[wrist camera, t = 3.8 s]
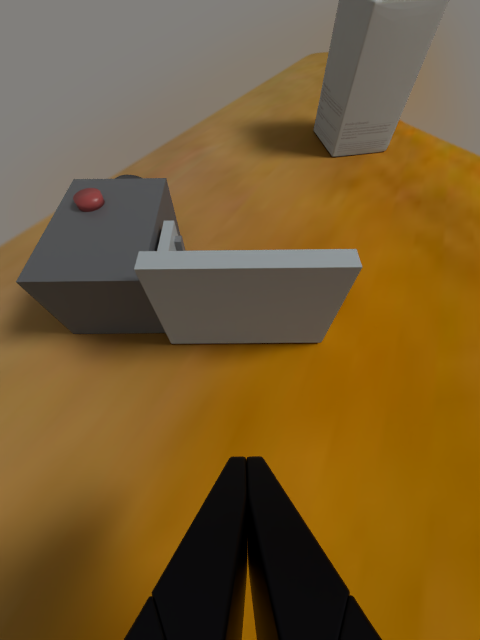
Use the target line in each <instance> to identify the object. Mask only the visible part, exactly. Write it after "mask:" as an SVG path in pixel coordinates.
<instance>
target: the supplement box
mask: <svg viewBox="0 0 480 640" xmlns="http://www.w3.org/2000/svg"><path fill="white" fill-rule="evenodd" d="M448 2H449V0H339V3H338V8H337V13H336V18H335V23H334V28H333V34H332V39H331V44H330V49H329V54H328V59H327V65H326V70H325V75H324V80H323V85H322V90H321V95H320V100H319V106H318V110H317V115H316V120H315V125H314V132H315V133H316V135H317V136H318V137H319V139H320V140H321V142H322V143H323V144H324V146H325V147H326V149H327V150H328V151H329V153H330V154H331V156H346V155H356V154H365V153H374V152H383V151H385V150H386V149H387V147H388V145H389V143H390V140H391V138H392V135H393V133H394V131H395V128H396V126H397V124H398V121H399V119H400V116H401V114H402V112H403V109H404V107H405V104H406V102H407V100H408V97H409V95H410V92H411V90H412V88H413V85H414V83H415V81H416V78H417V76H418V73H419V71H420V69H421V66H422V64H423V61H424V59H425V57H426V54H427V51H428V49H429V47H430V45H431V42H432V40H433V38H434V35H435V33H436V30H437V28H438V25H439V23H440V21H441V18H442V16H443V14H444V11H445V9H446V7H447V4H448Z"/></svg>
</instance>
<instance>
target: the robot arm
mask: <svg viewBox="0 0 480 640" xmlns="http://www.w3.org/2000/svg"><path fill="white" fill-rule="evenodd" d="M247 541H248V565H249V576H250V584H251V593H252V601H253V610H254V618H255V627H256V635H257V640H382V639H381V638H380V636H379V635H378V633H377V632H376V630H375V629H374V627H373V626H372V624H371V623H370V621H369V620H368V618H367V617H366V615H365V614H364V612H363V611H362V609H361V607H360V606H359V604H358V603H357V601H356V600H355V598H354V597H353V596H352V595H350V592H349V589H348V588H347V586H346V585H345V583H344V582H343V580H342V579H341V577H340V576H339V574H338V572H337V571H336V569H335V568H334V566H333V565H332V563H331V562H330V560H329V559H328V557H327V556H326V554H325V552H324V551H323V549H322V548H321V546H320V545H319V543H318V542H317V540H316V539H315V537H314V536H313V534H312V532H311V531H310V529H309V528H308V526H307V525H306V523H305V522H304V520H303V519H302V517H301V516H300V514H299V512H298V511H297V509H296V508H295V506H294V505H293V503H292V502H291V500H290V499H289V497H288V496H287V494H286V493H285V491H284V489H283V488H282V486H281V485H280V483H279V482H278V480H277V479H276V477H275V476H274V474H273V473H272V471H271V469H270V468H269V466H268V465H267V463H266V462H265V460H264V459H263V458H262V457H260V456H254V457H247V459H246V458H245V457H230V458H229V460H228V462H227V463H226V465H225V467H224V468H223V470H222V472H221V474H220V475H219V477H218V479H217V481H216V482H215V484H214V486H213V487H212V489H211V491H210V493H209V494H208V496H207V498H206V500H205V501H204V503H203V505H202V506H201V508H200V510H199V512H198V513H197V515H196V517H195V519H194V520H193V522H192V524H191V525H190V527H189V529H188V531H187V532H186V534H185V536H184V538H183V539H182V541H181V543H180V544H179V546H178V548H177V550H176V551H175V553H174V555H173V557H172V558H171V560H170V562H169V563H168V565H167V567H166V569H165V570H164V572H163V574H162V576H161V577H160V579H159V581H158V582H157V584H156V586H155V588H154V589H153V591H152V596H150V597H149V598H148V599H147V601H146V603H145V605H144V606H143V608H142V610H141V611H140V613H139V615H138V617H137V618H136V620H135V622H134V624H133V625H132V627H131V628H130V630H129V632H128V633H127V635H126V637H125V638H124V640H242V628H243V616H244V603H245V590H246V578H247ZM349 595H350V596H349Z"/></svg>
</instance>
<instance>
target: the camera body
mask: <svg viewBox="0 0 480 640" xmlns="http://www.w3.org/2000/svg"><path fill="white" fill-rule="evenodd" d="M164 221H174V222H175V225H176V229H177V233H178V236H180V232H179V228H178V224H177V220H176V216H175V212H174V208H173V204H172V200H171V196H170V191H169V187H168V183H167V179H166V178H147V179H143V178H141V177H138V176H134V175H122V176H119V177H117V178H115V179H74V180H73V182H72V183H71V185H70V187H69V189H68V190H67V192H66V194H65V196H64V197H63V199H62V201H61V203H60V205H59V206H58V208H57V210H56V212H55V213H54V215H53V217H52V219H51V221H50V222H49V224H48V226H47V228H46V229H45V231H44V233H43V235H42V237H41V238H40V240H39V242H38V244H37V245H36V247H35V249H34V251H33V253H32V254H31V256H30V258H29V260H28V261H27V263H26V265H25V267H24V269H23V270H22V272H21V274H20V276H19V277H18V279H17V281H16V282H17V283H18V284H19V285H20V286H21V287H22V288H23V289H24V290H26V291H27V292H28V293H29V294H30V295H31V296H32V297H33V298H34V299H35V300H37V301H38V302H39V303H40V304H41V305H42V306H43V307H44V308H45V309H47V310H48V311H49V312H50V313H51V314H52V315H53V316H54V317H55V318H57V319H58V320H59V321H60V322H61V323H62V324H63V325H64V326H65V327H67V328H68V329H69V330H70V331H71V332H72V333H73V334H113V333H166V332H165V330H164V328H163V326H162V324H161V322H160V320H159V318H158V316H157V314H156V312H155V310H154V308H153V306H152V304H151V302H150V300H149V298H148V296H147V294H146V292H145V290H144V288H143V286H142V284H141V282H140V280H139V278H138V276H137V274H136V272H135V271H134V267H135V264H136V260H137V256H138V253H139V251H157V249H158V245H159V240H160V236H161V231H162V227H163V222H164Z"/></svg>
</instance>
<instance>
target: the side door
mask: <svg viewBox="0 0 480 640" xmlns="http://www.w3.org/2000/svg"><path fill="white" fill-rule="evenodd" d="M361 268H362V265H361V262H360V259H359V256H358V253H357V250H356V249H317V250H220V251H185V247H184V243H183V239H182V236H178V233H177V229H176V225H175V222H174V221H164V222H163V227H162V231H161V236H160V240H159V245H158V249H157V251H139V253H138V256H137V260H136V264H135V267H134V271H135V272H136V274H137V276H138V278H139V280H140V282H141V284H142V286H143V288H144V290H145V292H146V294H147V296H148V298H149V300H150V302H151V304H152V306H153V308H154V310H155V312H156V314H157V316H158V318H159V320H160V322H161V324H162V326H163V328H164V330H165V332H166V334H167V336H168V338H169V340H170V342H171V344H202V343H320V342H322V340H323V338H324V336H325V335H326V333H327V331H328V329H329V327H330V325H331V324H332V322H333V320H334V318H335V316H336V314H337V313H338V311H339V309H340V307H341V305H342V303H343V302H344V300H345V298H346V296H347V294H348V292H349V291H350V289H351V287H352V285H353V283H354V281H355V280H356V278H357V276H358V274H359V272H360V270H361Z"/></svg>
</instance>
